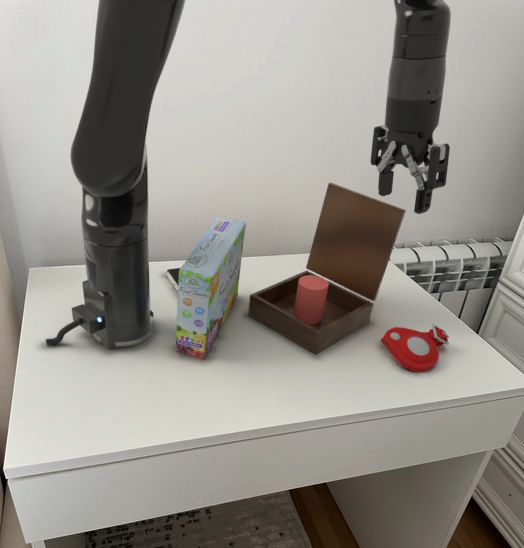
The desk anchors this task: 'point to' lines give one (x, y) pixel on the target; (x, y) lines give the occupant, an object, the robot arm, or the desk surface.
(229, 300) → the snack box
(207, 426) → the desk surface
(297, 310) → the pink cylinder
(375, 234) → the lid
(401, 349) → the red rounded piece
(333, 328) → the chest
